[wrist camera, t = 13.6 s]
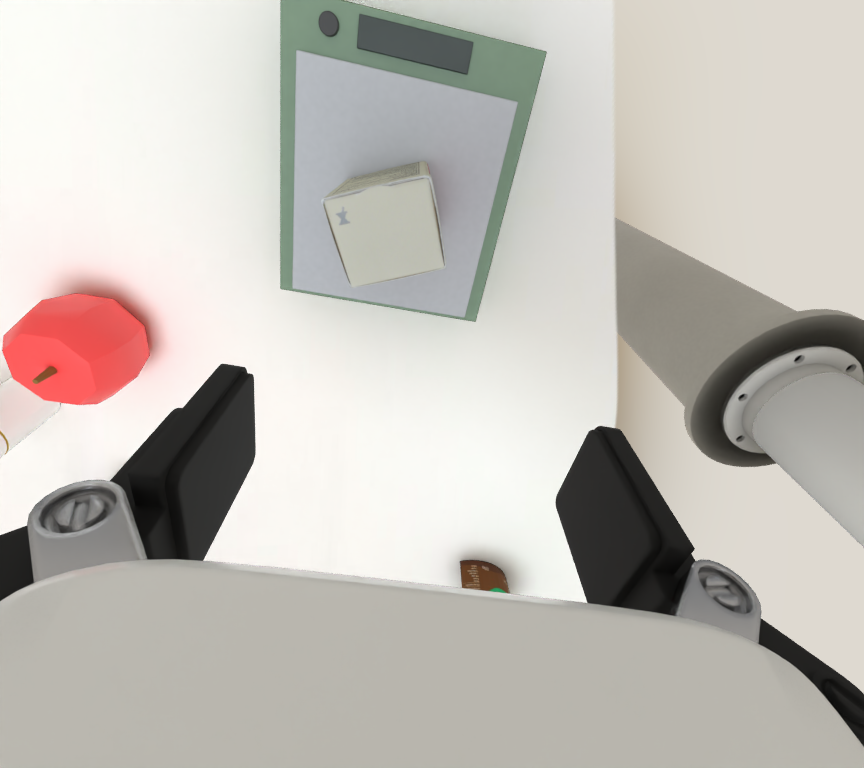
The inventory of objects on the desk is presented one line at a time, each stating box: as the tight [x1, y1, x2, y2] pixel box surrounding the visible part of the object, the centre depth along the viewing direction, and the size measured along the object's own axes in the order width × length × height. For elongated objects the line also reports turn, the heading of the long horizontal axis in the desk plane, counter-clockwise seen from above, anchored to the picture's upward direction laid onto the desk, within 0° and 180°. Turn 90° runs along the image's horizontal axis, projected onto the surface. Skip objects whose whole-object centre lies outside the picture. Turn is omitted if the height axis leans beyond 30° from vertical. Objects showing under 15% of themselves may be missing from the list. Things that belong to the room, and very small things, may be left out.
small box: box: [321, 161, 446, 288], centre depth 23 cm, size 5×4×8 cm
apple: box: [2, 293, 150, 405], centre depth 31 cm, size 8×8×8 cm
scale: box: [280, 0, 547, 322], centre depth 27 cm, size 14×16×4 cm
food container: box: [460, 560, 510, 594], centre depth 49 cm, size 12×6×10 cm, turn 12°
